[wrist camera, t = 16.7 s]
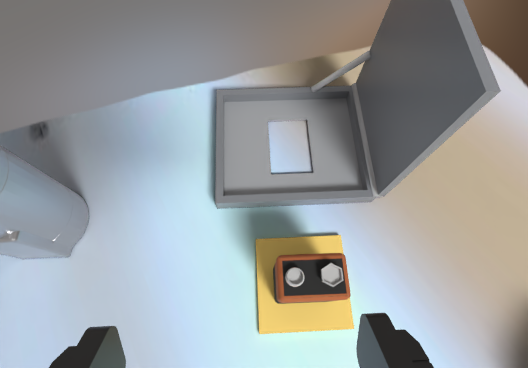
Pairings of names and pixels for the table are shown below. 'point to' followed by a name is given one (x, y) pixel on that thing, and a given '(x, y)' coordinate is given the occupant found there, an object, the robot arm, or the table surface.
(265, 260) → the yellow sticky note
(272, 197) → the equipment case
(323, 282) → the battery
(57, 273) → the table surface
